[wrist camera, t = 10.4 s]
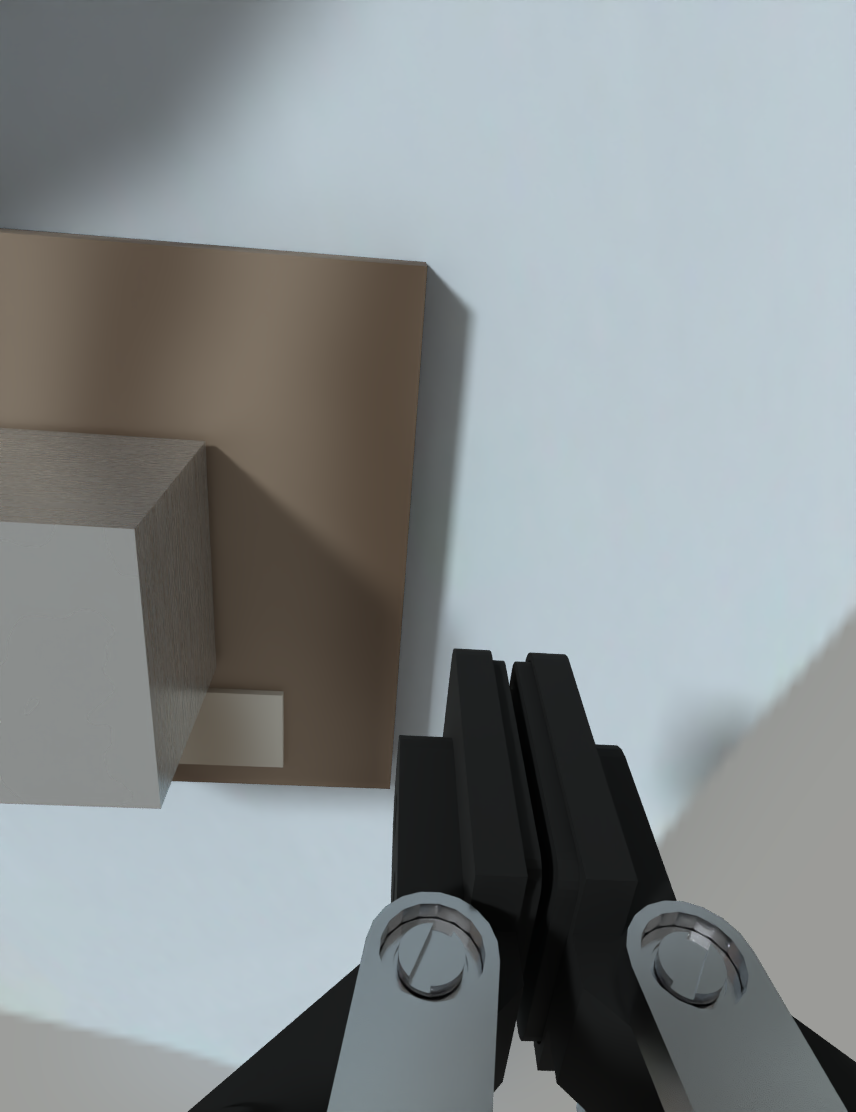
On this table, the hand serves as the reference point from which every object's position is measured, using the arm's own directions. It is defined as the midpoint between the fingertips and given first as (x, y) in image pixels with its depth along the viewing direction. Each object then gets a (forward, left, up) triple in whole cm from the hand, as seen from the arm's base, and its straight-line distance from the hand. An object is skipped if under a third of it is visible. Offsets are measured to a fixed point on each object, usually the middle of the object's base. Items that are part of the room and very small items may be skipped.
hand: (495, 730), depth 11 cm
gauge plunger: (+11, +1, -7) cm, 13 cm away
